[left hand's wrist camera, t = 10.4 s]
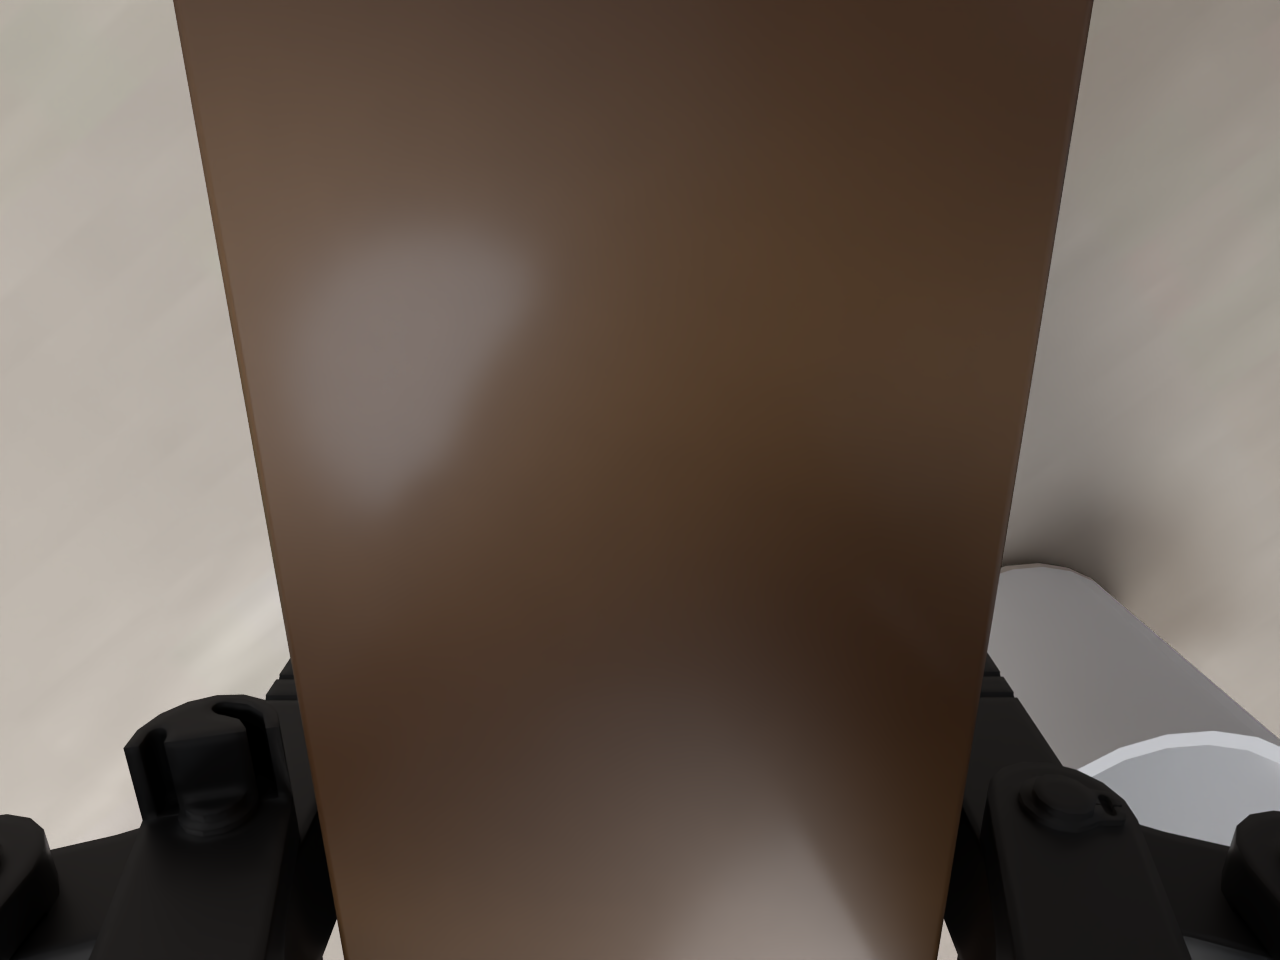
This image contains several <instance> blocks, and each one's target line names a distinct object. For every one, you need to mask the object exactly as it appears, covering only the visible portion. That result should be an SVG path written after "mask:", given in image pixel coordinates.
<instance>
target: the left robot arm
mask: <svg viewBox="0 0 1280 960" xmlns="http://www.w3.org/2000/svg"><path fill="white" fill-rule="evenodd" d="M124 752H125V756H126V759H127V763H128V767H129V771H130V774H131V778H132V782H133V786H134V790H135V793H136V797H137V801H138V805H139V808H140V812H141V816H142V820H143V821H142V824H141V826H140V828H138V829H135V830H131V831H128V832H125V833H121V834H118V835H114V836H110V837H106V838H101V839H97V840H92V841H88V842H83V843H79V844H75V845H70V846H66V847H61V848H57V849H53V850H50V848H49V845H48V841H47V838H46V835H45V832H44V829H43V828H41V827H40V826H39V825H38V824H37V823H36V822H34V821H33V820H32V819H31V818H27V817H21V816H15V815H9V814H5V815H0V960H323V957H322V956H323V954H324V951H325V948H326V946H327V943H328V941H329V938H330V935H331V933H332V930H333V928H334V925H335V922H336V920H337V916H336V910H335V905H334V899H333V893H332V888H331V882H330V877H329V871H328V865H327V860H326V854H325V849H324V843H323V837H322V832H321V826H320V821H319V815H318V809H317V804H316V798H315V792H314V787H313V781H312V776H311V770H310V764H309V759H308V753H307V748H306V742H305V736H304V731H303V725H302V720H301V714H300V708H299V703H298V697H297V692H296V686H295V680H294V675H293V669H292V664H291V658H290V659H289V661H288V662H287V664H286V665H285V667H284V669H283V670H282V672H281V673H280V677H279V679H276V681H275V682H274V684H273V685H272V687H271V688H270V690H269V691H268V693H267V694H266V700H263V699H259V698H255V697H251V696H248V695H216V696H212V697H207V698H203V699H199V700H194V701H190V702H187V703H184V704H182V705H180V706H178V707H175V708H173V709H171V710H168V711H166V712H164V713H161V714H160V715H158V716H157V717H155V718H154V719H152V720H151V721H150V722H148V723H147V724H145V725H144V726H143V727H141V728H140V729H138V730H137V731H136V733H135V734H134V735H133V737H132V738H131V739H130V740H129V742H128V743H127V744H126V746H125V747H124ZM944 920H945V923H946V925H947V928H948V930H949V933H950V936H951V938H952V941H953V943H954V946H955V949H956V951H957V954H958V957H957V960H1280V811H1274V810H1273V811H1267V812H1261V813H1255V814H1250V815H1248V816H1247V817H1246V818H1245V819H1244V820H1243V821H1241V822H1240V823H1239V824H1238V825H1237V826H1236V829H1235V832H1234V835H1233V839H1232V842H1231V845H1230V846H1226V845H1221V844H1217V843H1212V842H1208V841H1204V840H1199V839H1195V838H1190V837H1186V836H1181V835H1177V834H1172V833H1168V832H1164V831H1160V830H1157V829H1154V828H1150V827H1147V826H1143V825H1140V824H1139V822H1138V819H1137V818H1136V816H1135V815H1134V813H1133V812H1132V810H1131V809H1130V807H1129V806H1128V804H1127V803H1126V801H1125V800H1124V799H1123V798H1121V797H1120V796H1119V795H1118V794H1117V793H1115V792H1114V791H1113V790H1112V789H1110V788H1109V787H1108V786H1107V785H1105V784H1104V783H1103V782H1101V781H1099V780H1097V779H1095V778H1093V777H1091V776H1089V775H1086V774H1084V773H1082V772H1080V771H1078V770H1076V769H1072V768H1068V767H1065V766H1063V765H1062V764H1061V762H1060V761H1059V759H1058V758H1057V756H1056V755H1055V753H1054V752H1053V750H1052V749H1051V747H1050V746H1049V744H1048V743H1047V741H1046V740H1045V738H1044V737H1043V735H1042V734H1041V732H1040V731H1039V729H1038V728H1037V726H1036V725H1035V723H1034V722H1033V720H1032V719H1031V717H1030V716H1029V714H1028V713H1027V711H1026V710H1025V708H1024V707H1023V705H1022V704H1021V702H1020V701H1019V699H1018V698H1017V697H1014V692H1013V690H1012V689H1011V687H1010V686H1009V684H1008V683H1007V681H1006V680H1005V678H1004V677H1001V676H1000V671H999V669H998V668H997V666H996V665H995V663H994V662H993V660H992V659H991V657H990V656H989V654H988V653H987V656H986V662H985V668H984V675H983V681H982V687H981V693H980V699H979V705H978V711H977V717H976V724H975V730H974V736H973V742H972V748H971V754H970V760H969V766H968V773H967V779H966V785H965V791H964V797H963V803H962V809H961V815H960V822H959V828H958V834H957V840H956V846H955V852H954V858H953V864H952V871H951V877H950V883H949V889H948V895H947V901H946V907H945V913H944Z"/></svg>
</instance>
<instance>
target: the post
mask: <svg viewBox="0 0 1280 960" xmlns="http://www.w3.org/2000/svg"><path fill="white" fill-rule="evenodd" d="M1093 1H1094V0H173V2H174V8H175V13H176V19H177V24H178V30H179V36H180V41H181V47H182V52H183V58H184V64H185V69H186V75H187V80H188V86H189V92H190V97H191V103H192V109H193V114H194V120H195V125H196V131H197V137H198V142H199V148H200V153H201V159H202V165H203V170H204V176H205V181H206V187H207V193H208V198H209V204H210V209H211V215H212V221H213V226H214V232H215V237H216V243H217V249H218V254H219V260H220V265H221V271H222V277H223V282H224V288H225V294H226V299H227V305H228V310H229V316H230V322H231V327H232V333H233V338H234V344H235V350H236V355H237V361H238V366H239V372H240V378H241V383H242V389H243V394H244V400H245V406H246V411H247V417H248V422H249V428H250V434H251V439H252V445H253V451H254V456H255V462H256V467H257V473H258V479H259V484H260V490H261V495H262V501H263V507H264V512H265V518H266V523H267V529H268V535H269V540H270V546H271V551H272V557H273V563H274V568H275V574H276V579H277V585H278V591H279V596H280V602H281V607H282V613H283V619H284V624H285V630H286V636H287V641H288V647H289V652H290V658H291V664H292V669H293V675H294V680H295V686H296V692H297V697H298V703H299V708H300V714H301V720H302V725H303V731H304V736H305V742H306V748H307V753H308V759H309V764H310V770H311V776H312V781H313V787H314V792H315V798H316V804H317V809H318V815H319V821H320V826H321V832H322V837H323V843H324V849H325V854H326V860H327V865H328V871H329V877H330V882H331V888H332V893H333V899H334V905H335V910H336V916H337V921H338V927H339V933H340V938H341V944H342V949H343V955H344V960H937V956H938V950H939V944H940V938H941V932H942V926H943V920H944V913H945V907H946V901H947V895H948V889H949V883H950V877H951V871H952V864H953V858H954V852H955V846H956V840H957V834H958V828H959V822H960V815H961V809H962V803H963V797H964V791H965V785H966V779H967V773H968V766H969V760H970V754H971V748H972V742H973V736H974V730H975V724H976V717H977V711H978V705H979V699H980V693H981V687H982V681H983V675H984V668H985V662H986V656H987V650H988V644H989V638H990V632H991V625H992V619H993V613H994V607H995V601H996V595H997V589H998V583H999V576H1000V570H1001V564H1002V558H1003V552H1004V546H1005V540H1006V534H1007V527H1008V521H1009V515H1010V509H1011V503H1012V497H1013V491H1014V485H1015V478H1016V472H1017V466H1018V460H1019V454H1020V448H1021V442H1022V436H1023V429H1024V423H1025V417H1026V411H1027V405H1028V399H1029V393H1030V387H1031V380H1032V374H1033V368H1034V362H1035V356H1036V350H1037V344H1038V338H1039V331H1040V325H1041V319H1042V313H1043V307H1044V301H1045V295H1046V289H1047V282H1048V276H1049V270H1050V264H1051V258H1052V252H1053V246H1054V239H1055V233H1056V227H1057V221H1058V215H1059V209H1060V203H1061V197H1062V190H1063V184H1064V178H1065V172H1066V166H1067V160H1068V154H1069V148H1070V141H1071V135H1072V129H1073V123H1074V117H1075V111H1076V105H1077V99H1078V92H1079V86H1080V80H1081V74H1082V68H1083V62H1084V56H1085V50H1086V43H1087V37H1088V31H1089V25H1090V19H1091V13H1092V7H1093Z"/></svg>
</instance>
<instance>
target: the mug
mask: <svg viewBox="0 0 1280 960" xmlns="http://www.w3.org/2000/svg"><path fill="white" fill-rule="evenodd" d="M987 653H988V654H989V656H990V657H991V659H992V660H993V662H994V663H995V665H996V666H997V668H998V669H999V671H1000V676H1001V677H1004V678H1005V680H1006V681H1007V683H1008V684H1009V686H1010V687H1011V689H1012V690H1013V692H1014V697H1017V698H1018V699H1019V701H1020V702H1021V704H1022V705H1023V707H1024V708H1025V710H1026V711H1027V713H1028V714H1029V716H1030V717H1031V719H1032V720H1033V722H1034V723H1035V725H1036V726H1037V728H1038V729H1039V731H1040V732H1041V734H1042V735H1043V737H1044V738H1045V740H1046V741H1047V743H1048V744H1049V746H1050V747H1051V749H1052V750H1053V752H1054V753H1055V755H1056V756H1057V758H1058V759H1059V761H1060V762H1061V764H1062V765H1063V766H1065V767H1068V768H1072V769H1076V770H1078V771H1080V772H1082V773H1084V774H1086V775H1089V776H1091V777H1093V778H1095V779H1097V780H1099V781H1101V782H1103V783H1104V784H1105V785H1107V786H1108V787H1109V788H1110V789H1112V790H1113V791H1114V792H1115V793H1117V794H1118V795H1119V796H1120V797H1121V798H1123V799H1124V800H1125V801H1126V803H1127V804H1128V806H1129V807H1130V809H1131V810H1132V812H1133V813H1134V815H1135V816H1136V818H1137V819H1138V822H1139V824H1140V825H1143V826H1147V827H1150V828H1154V829H1157V830H1160V831H1164V832H1168V833H1172V834H1177V835H1181V836H1186V837H1190V838H1195V839H1199V840H1204V841H1208V842H1212V843H1217V844H1221V845H1226V846H1230V845H1231V842H1232V839H1233V835H1234V832H1235V829H1236V826H1237V825H1238V824H1239V823H1240V822H1241V821H1243V820H1244V819H1245V818H1246V817H1247V816H1248V815H1250V814H1255V813H1261V812H1267V811H1273V810H1274V811H1280V739H1279V738H1277V737H1276V736H1275V735H1274V734H1273V733H1272V732H1270V731H1269V730H1268V729H1267V728H1266V727H1265V726H1263V725H1262V724H1261V723H1260V722H1259V721H1258V720H1256V719H1255V718H1254V717H1253V716H1252V715H1251V714H1249V713H1248V712H1247V711H1246V710H1245V709H1243V708H1242V707H1241V706H1240V705H1239V704H1238V703H1236V702H1235V701H1234V700H1233V699H1232V698H1231V697H1229V696H1228V695H1227V694H1226V693H1225V692H1224V691H1222V690H1221V689H1220V688H1219V687H1218V686H1217V685H1215V684H1214V683H1213V682H1212V681H1211V680H1210V679H1208V678H1207V677H1206V676H1205V675H1204V674H1203V673H1201V672H1200V671H1199V670H1198V669H1197V668H1195V667H1194V666H1193V665H1192V664H1191V663H1190V662H1188V661H1187V660H1186V659H1185V658H1184V657H1183V656H1181V655H1180V654H1179V653H1178V652H1177V651H1176V650H1174V649H1173V648H1172V647H1171V646H1170V645H1169V644H1167V643H1166V642H1165V641H1164V640H1163V639H1162V638H1160V637H1159V636H1158V635H1157V634H1156V633H1155V632H1153V631H1152V630H1151V629H1150V628H1149V627H1148V626H1146V625H1145V624H1144V623H1143V622H1142V621H1140V620H1139V619H1138V618H1137V617H1136V616H1135V615H1133V614H1132V613H1131V612H1130V611H1129V610H1128V609H1126V608H1125V607H1124V606H1123V605H1122V604H1121V603H1119V602H1118V601H1117V600H1116V599H1115V598H1114V597H1112V596H1111V595H1110V594H1109V593H1108V592H1107V591H1105V590H1104V589H1103V588H1102V587H1101V586H1100V585H1099V584H1097V583H1096V582H1095V581H1094V580H1093V579H1092V578H1090V577H1087V576H1085V575H1083V574H1081V573H1078V572H1076V571H1074V570H1072V569H1069V568H1067V567H1061V566H1054V565H1048V564H1041V563H1034V564H1022V565H1010V566H1005V567H1002V568H1001V570H1000V576H999V583H998V589H997V595H996V601H995V607H994V613H993V619H992V625H991V632H990V638H989V644H988V650H987Z"/></svg>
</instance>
